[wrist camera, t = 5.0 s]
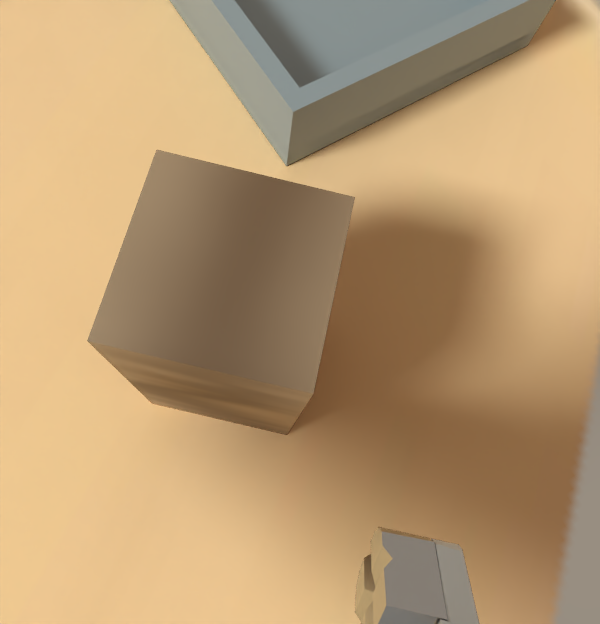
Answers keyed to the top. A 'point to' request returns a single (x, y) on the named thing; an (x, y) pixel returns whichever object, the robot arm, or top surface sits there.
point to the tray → (349, 57)
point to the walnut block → (224, 291)
